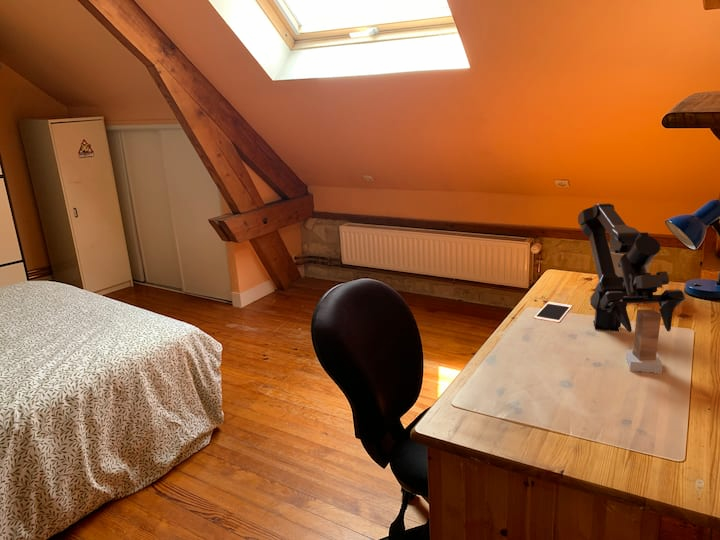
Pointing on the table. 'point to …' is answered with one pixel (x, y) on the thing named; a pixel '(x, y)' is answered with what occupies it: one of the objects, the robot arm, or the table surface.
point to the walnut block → (646, 334)
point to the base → (643, 363)
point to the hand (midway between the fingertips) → (649, 331)
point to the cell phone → (553, 312)
